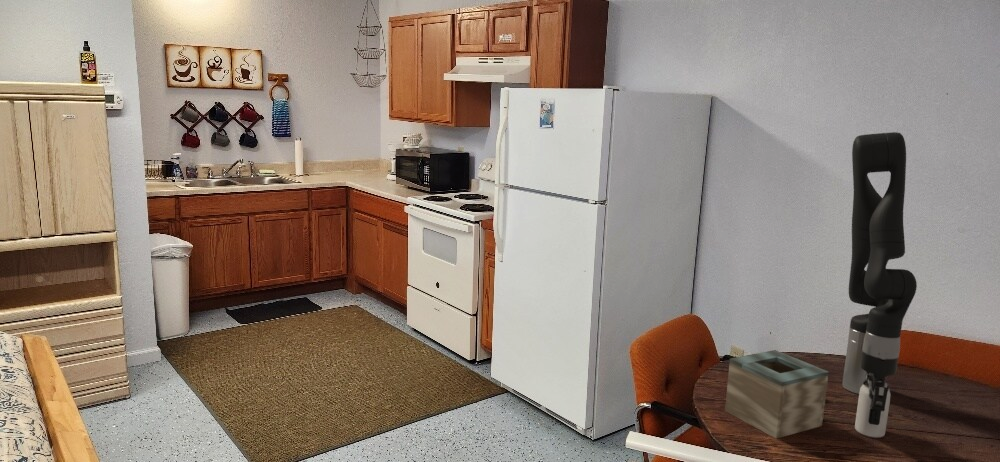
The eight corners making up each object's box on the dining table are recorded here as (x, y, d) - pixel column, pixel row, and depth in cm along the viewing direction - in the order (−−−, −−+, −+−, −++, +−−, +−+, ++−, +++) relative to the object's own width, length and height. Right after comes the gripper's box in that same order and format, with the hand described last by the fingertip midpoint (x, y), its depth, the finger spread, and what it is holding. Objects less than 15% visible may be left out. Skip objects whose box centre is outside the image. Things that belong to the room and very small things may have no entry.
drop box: (769, 400, 181) (775, 349, 179) (822, 425, 167) (828, 371, 165) (724, 410, 174) (730, 358, 172) (775, 438, 160) (782, 382, 158)
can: (881, 428, 167) (888, 382, 165) (887, 440, 161) (894, 392, 159) (852, 424, 169) (858, 378, 167) (856, 435, 163) (863, 388, 161)
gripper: (858, 339, 169) (849, 403, 172) (867, 359, 156) (858, 427, 159) (892, 344, 167) (883, 408, 170) (904, 364, 153) (894, 433, 156)
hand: (871, 417), depth 164 cm, fingers closed on can, 6 cm apart
